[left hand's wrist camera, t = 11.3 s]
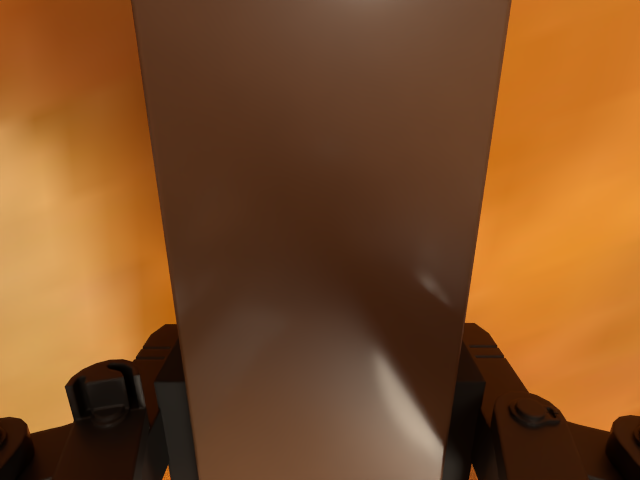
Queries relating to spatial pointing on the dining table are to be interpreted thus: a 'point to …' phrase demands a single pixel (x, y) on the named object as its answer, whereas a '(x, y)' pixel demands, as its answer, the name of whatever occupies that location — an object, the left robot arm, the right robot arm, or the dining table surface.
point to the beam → (320, 222)
